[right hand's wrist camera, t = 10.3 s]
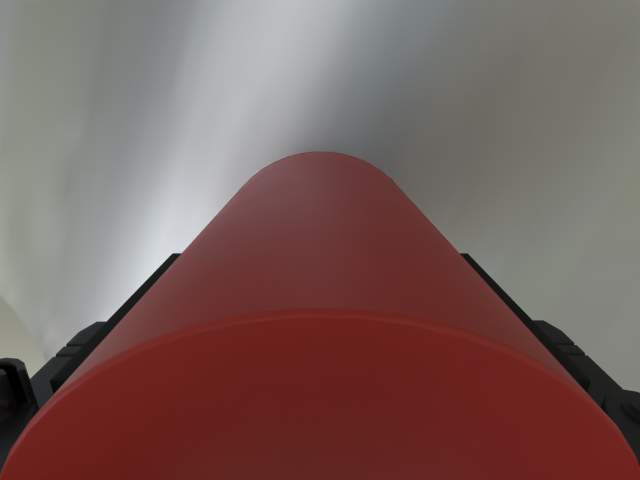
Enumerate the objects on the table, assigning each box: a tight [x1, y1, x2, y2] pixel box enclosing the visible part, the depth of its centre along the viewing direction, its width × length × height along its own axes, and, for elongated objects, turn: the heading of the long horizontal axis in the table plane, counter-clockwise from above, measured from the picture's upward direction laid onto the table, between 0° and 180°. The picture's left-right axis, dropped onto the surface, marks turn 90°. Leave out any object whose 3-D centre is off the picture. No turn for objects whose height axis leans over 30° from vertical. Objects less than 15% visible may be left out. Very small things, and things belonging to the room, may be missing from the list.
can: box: [0, 152, 640, 480], centre depth 11 cm, size 9×9×13 cm
